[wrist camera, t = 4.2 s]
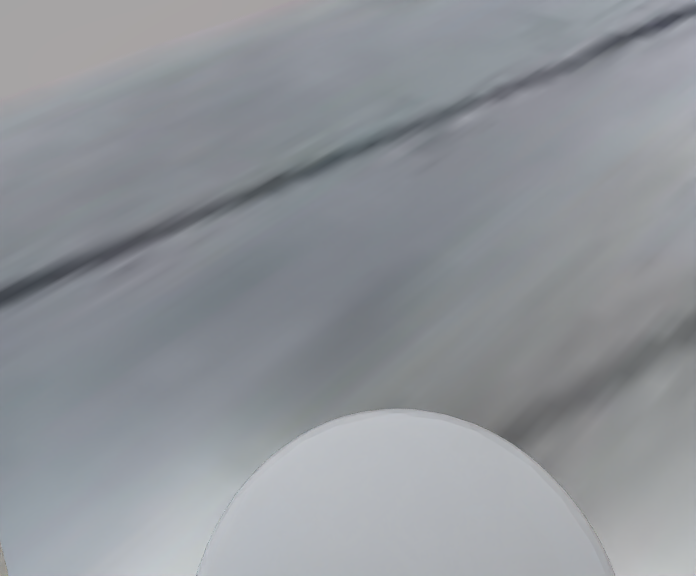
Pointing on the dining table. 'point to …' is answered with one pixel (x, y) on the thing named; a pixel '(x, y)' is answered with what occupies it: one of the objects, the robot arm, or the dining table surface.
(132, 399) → the dining table surface
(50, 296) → the dining table surface
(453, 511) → the supplement bottle
